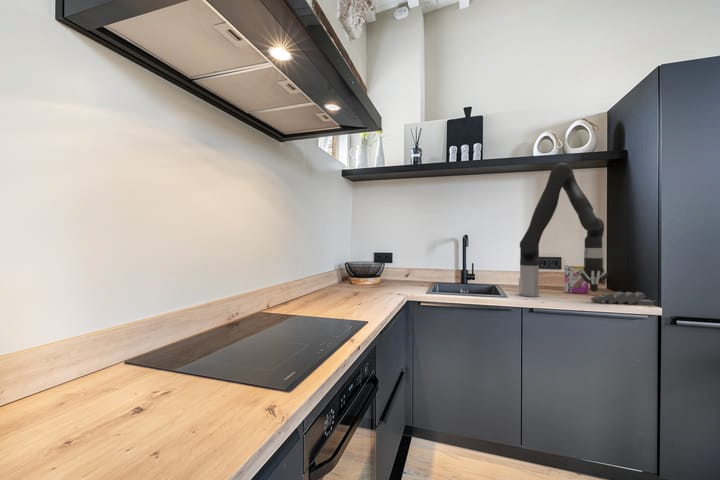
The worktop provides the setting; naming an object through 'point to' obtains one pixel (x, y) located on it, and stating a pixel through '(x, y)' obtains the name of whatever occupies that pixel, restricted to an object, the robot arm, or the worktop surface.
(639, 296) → the domino
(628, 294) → the dark grey bumpy bar
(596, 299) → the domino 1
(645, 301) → the domino
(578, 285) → the candy bar box
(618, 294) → the domino
